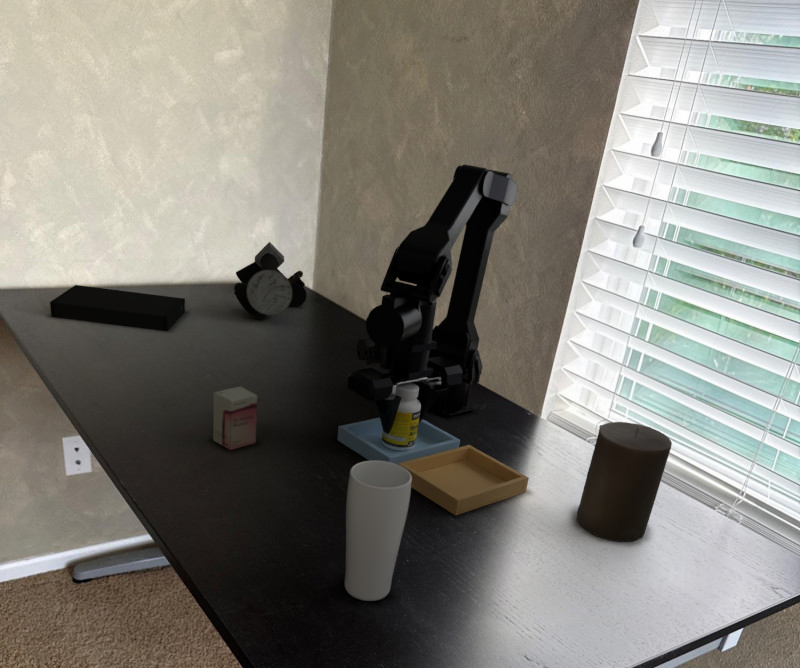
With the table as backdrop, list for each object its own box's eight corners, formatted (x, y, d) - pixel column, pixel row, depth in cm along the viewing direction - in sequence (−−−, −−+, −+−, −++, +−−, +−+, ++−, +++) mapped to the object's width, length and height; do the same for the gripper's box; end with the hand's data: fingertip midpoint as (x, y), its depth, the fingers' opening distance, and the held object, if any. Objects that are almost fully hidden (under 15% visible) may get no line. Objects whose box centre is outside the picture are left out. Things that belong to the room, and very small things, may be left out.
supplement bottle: (411, 454, 126) (420, 395, 121) (377, 448, 126) (384, 388, 121) (418, 441, 130) (426, 383, 125) (385, 435, 131) (392, 377, 126)
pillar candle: (641, 549, 109) (673, 448, 102) (569, 529, 112) (596, 429, 104) (647, 518, 117) (678, 423, 110) (581, 501, 120) (606, 406, 112)
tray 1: (406, 424, 137) (408, 411, 136) (458, 453, 129) (460, 439, 128) (337, 440, 128) (338, 426, 127) (388, 472, 120) (389, 458, 119)
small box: (230, 451, 120) (230, 401, 116) (212, 440, 122) (212, 391, 118) (257, 443, 123) (258, 394, 119) (239, 433, 126) (240, 385, 122)
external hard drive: (77, 298, 175) (75, 284, 173) (185, 312, 176) (185, 298, 174) (51, 316, 162) (49, 301, 161) (167, 331, 163) (167, 316, 162)
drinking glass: (337, 572, 96) (348, 457, 88) (393, 575, 97) (409, 461, 89) (338, 606, 90) (350, 486, 83) (398, 608, 91) (416, 490, 83)
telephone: (280, 353, 177) (278, 310, 202) (321, 313, 173) (314, 274, 198) (226, 302, 169) (231, 264, 194) (268, 259, 166) (268, 226, 191)
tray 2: (466, 458, 128) (468, 444, 127) (525, 492, 120) (529, 477, 119) (396, 477, 119) (398, 463, 118) (455, 515, 111) (458, 500, 110)
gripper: (423, 310, 130) (410, 402, 138) (329, 321, 118) (321, 420, 126) (472, 331, 123) (456, 426, 131) (377, 345, 112) (365, 448, 119)
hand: (400, 429), depth 127 cm, fingers closed on supplement bottle, 5 cm apart
